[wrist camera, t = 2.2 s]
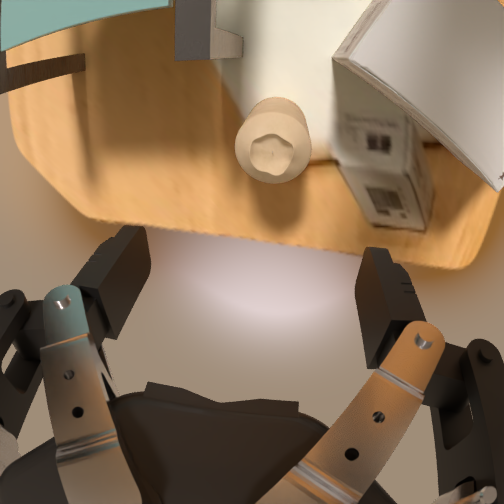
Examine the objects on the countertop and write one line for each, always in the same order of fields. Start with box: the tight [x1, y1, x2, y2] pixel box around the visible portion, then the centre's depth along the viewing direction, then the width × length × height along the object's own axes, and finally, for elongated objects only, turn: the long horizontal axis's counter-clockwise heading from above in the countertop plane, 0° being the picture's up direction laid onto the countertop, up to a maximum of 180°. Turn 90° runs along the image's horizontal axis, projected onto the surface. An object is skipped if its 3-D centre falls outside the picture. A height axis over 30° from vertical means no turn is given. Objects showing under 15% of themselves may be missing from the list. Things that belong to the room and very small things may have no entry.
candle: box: [235, 97, 312, 184], centre depth 25 cm, size 6×6×10 cm
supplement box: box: [332, 0, 504, 192], centre depth 19 cm, size 17×13×9 cm
